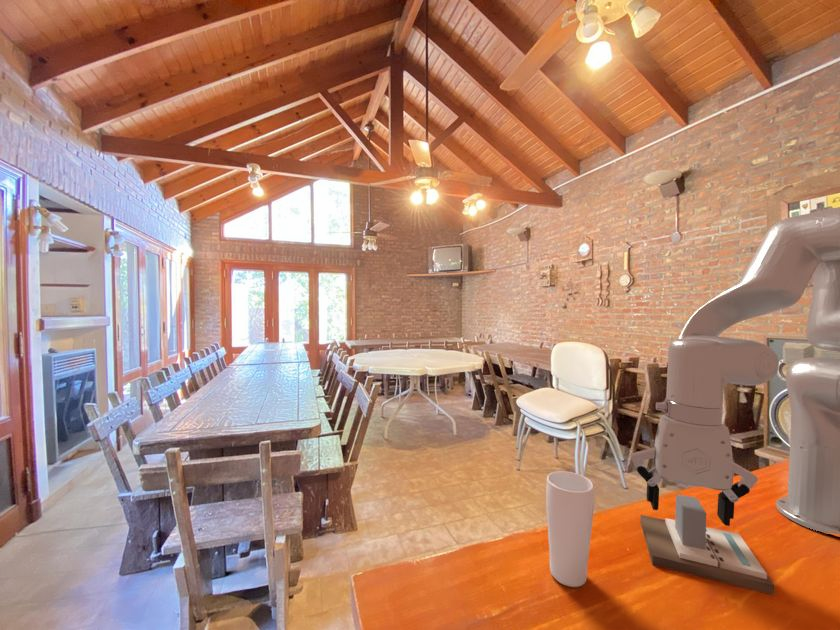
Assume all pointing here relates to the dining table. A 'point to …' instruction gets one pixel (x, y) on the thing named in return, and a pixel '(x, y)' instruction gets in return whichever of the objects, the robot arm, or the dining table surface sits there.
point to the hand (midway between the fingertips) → (687, 513)
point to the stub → (690, 531)
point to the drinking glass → (569, 525)
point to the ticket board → (727, 548)
